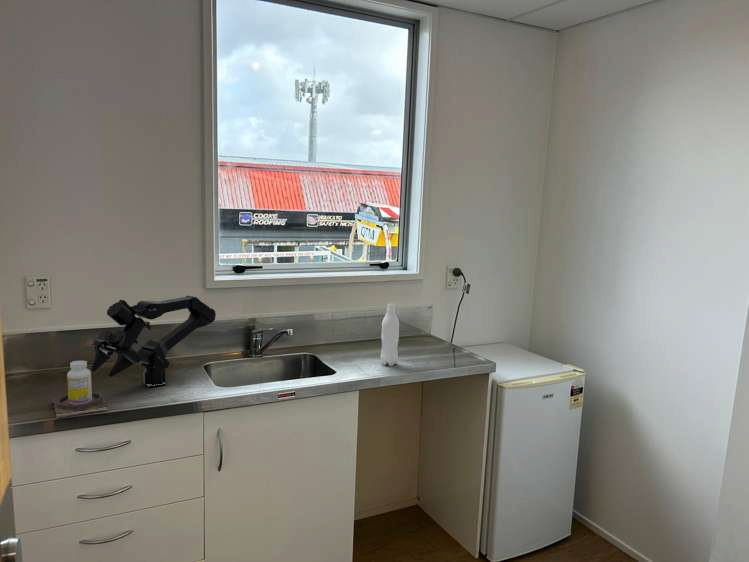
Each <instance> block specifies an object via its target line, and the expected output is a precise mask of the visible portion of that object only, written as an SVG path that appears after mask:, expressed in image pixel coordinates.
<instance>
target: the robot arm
mask: <svg viewBox="0 0 749 562" xmlns="http://www.w3.org/2000/svg"><path fill="white" fill-rule="evenodd" d="M186 309H187V311H188V312H189V315H188V318H187V319H186V320H185V321H183V322H182V323H181V324H179V325H177V326H176V327H175V328H174V329H173V330H172V331H169V333H167V334H166V335H165V336H163V337H162V338H160V339H159V340H157V341H156V340H153V339H149V340H148V341H147V342H146V343H145V344H142V345H140V348H139V349H138V351H137V350H135V348H133V347H132V346H133V345H134V344H135V345H137V344H138V340H137V339H138V338H139V336H140V335H141V334H142V333H143V331H144V330H147V331H151V330H152V327H151V322H150V321H147V320H155V319H158V318H160V317H162V316H163V315H164V314H167V313H170V312H171V313H172V312H176V311H181V310H186ZM106 315H107V316H108V317H109V318H110V319H112V320H113V321H114V322H115V323H117V325H118V326H121V327H122V326H123V327H122V329H120V330H119V329H117V330H116V329H114V330H113V331H110V330H109V331H108V330H104V329H100V330H99V334H98V336H97V339H96V340H94V342H93V343H92V345H91V346H92V347H93V350H94V353H95V356H94V359H93V363H92V365H91V369H90V371H91V372H93V373H94V372H95V371H97V370H98V369H99V368H101V366H103V365H104V364H105V363H106V362H107V361H108V360H110V358H111V357H110V356H112V355H113V354H116V355H117V358H116V359H117V360H116V361H115V363H114V364H113V366H112V367H111V369H110V371H109V373H108V377H110V378H112V377H115V375H117V374H119V373H121V372H123V371H124V370H126V369H128V368H129V367H132V366H135V364H137V365H138V364H139V363H140V364H141V366H142V367H144V371H143V372H142V373H143V375H142V376H143V379H142V380H143V384H144V385H145V384H152V385H154V384H155V385H156V384H162V383H163V382H166V369H168V368H169V365H170V361H169V360H168V359H167V358H166V357H167V355H168V352H169V351H170V350H171V349H172V348H175V346H176V345H179V343H181V342H182V341H183V340H184V339H186V338H187V337H188V336H189V335H190V334H192V333H193V332H194V331H196V330H197V329H199V328H203V327H207V326H209V325H210V324H212V323H214V321H215V320H216V316H217V314H216V311H215V309H213V307H212V308H211V307H210V306H209V305H207V304H206V303H204V302H202V301H201V300H200V299H199V298H198V297H197V296H193V295H185V296H183V297H182V296H181V297H176V298H172V299H171V298H170V299H167V300H162V301H161V300H160V301H157V300H155V301H154V300H140V301H138V302H137V303H136V304H134V305H132V306H130V304H128V303H127V301H126V300H124V299H119V301H117V302H115V303H113V304H111V305H110V306H109V307H108V308H107V310H106ZM144 319H147V320H144ZM166 383H167V382H166Z"/></svg>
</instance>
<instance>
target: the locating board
mask: <svg viewBox="0 0 749 562" xmlns="http://www.w3.org/2000/svg"><path fill="white" fill-rule="evenodd" d="M53 403H54V406H53V408H54V407H55V411H54V413H55V412H56V414H63V413H71V412H77V411H85V410H90V409H98V408H103V407H109V406H108V404H107V401H106V400H105V397H104V395H103V393H102V391H100V392H96V391H92V401H91V402H90V403H87V404H81V405H71V404H69V400H68V394H65V395H62V396H60V397H57V398H52V404H53Z"/></svg>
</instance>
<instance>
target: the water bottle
mask: <svg viewBox="0 0 749 562" xmlns="http://www.w3.org/2000/svg"><path fill="white" fill-rule="evenodd" d="M399 332H400V321H399V319H398V316H397V314H396V304H395V303H392V302H391V303H387V308H386V313H385V315H384V317H383V320H382V321H381V336H380V340H381V351H380V361H381V362H380V363H382V365H383V366H386V365H388V366H389V367H392V366H395V365H397V363H398V360H399V352H398V346H399V345H398V344H399V340H400V335H399V334H400V333H399ZM394 364H395V365H394Z"/></svg>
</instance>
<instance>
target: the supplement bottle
mask: <svg viewBox="0 0 749 562" xmlns="http://www.w3.org/2000/svg"><path fill="white" fill-rule="evenodd" d="M69 367H70V370H69V371H68V372H67V374H66V378H67V379H66V381H67V395H68V400H69V404H71V405H81V404H87V403H90V402H91V401H92V392H93V389H92V386H93V385H92V371H91V369H89V368H87V367H88V361H87V360H73V361H72V362H70V363H69Z"/></svg>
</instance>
